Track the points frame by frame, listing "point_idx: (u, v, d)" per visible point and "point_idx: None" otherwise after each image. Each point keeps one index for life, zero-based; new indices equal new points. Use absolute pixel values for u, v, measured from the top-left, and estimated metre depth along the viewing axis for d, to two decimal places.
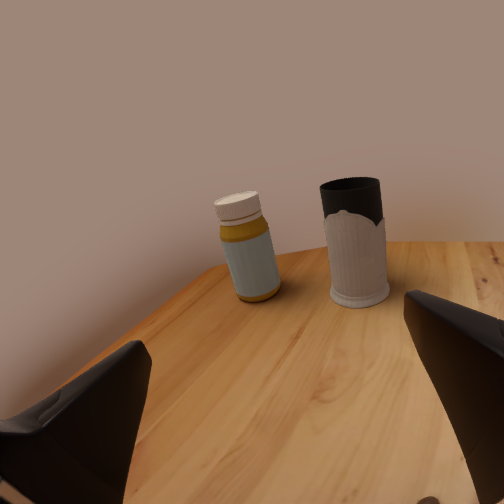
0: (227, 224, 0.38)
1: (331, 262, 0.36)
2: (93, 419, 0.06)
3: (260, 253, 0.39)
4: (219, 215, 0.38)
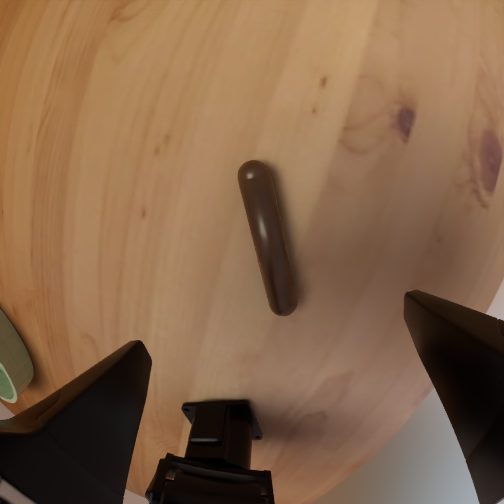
0: None
1: None
2: (93, 419, 0.06)
3: None
4: None
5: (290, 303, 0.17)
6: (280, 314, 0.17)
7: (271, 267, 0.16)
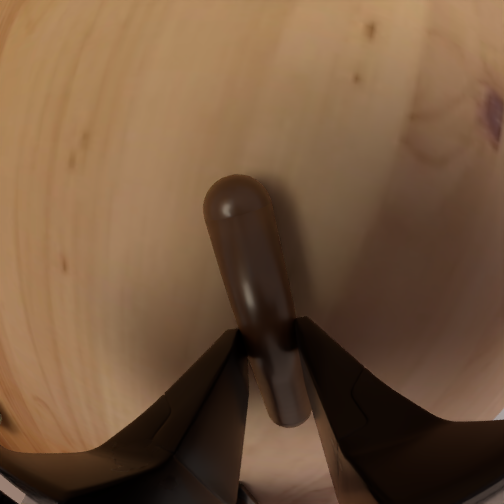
0: None
1: None
2: (215, 427, 0.05)
3: None
4: None
5: (301, 415, 0.09)
6: None
7: (271, 375, 0.08)
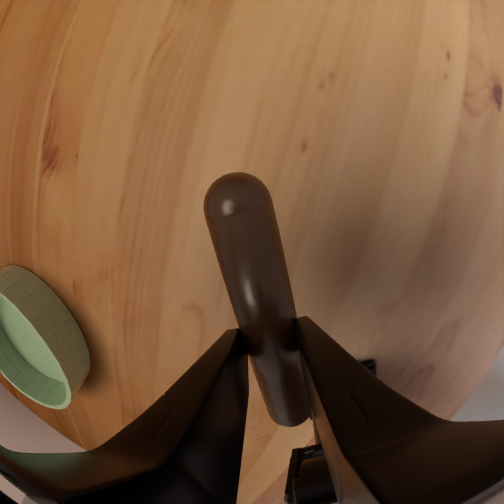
0: None
1: None
2: (215, 427, 0.05)
3: None
4: None
5: (302, 414, 0.09)
6: (285, 426, 0.10)
7: (272, 374, 0.08)
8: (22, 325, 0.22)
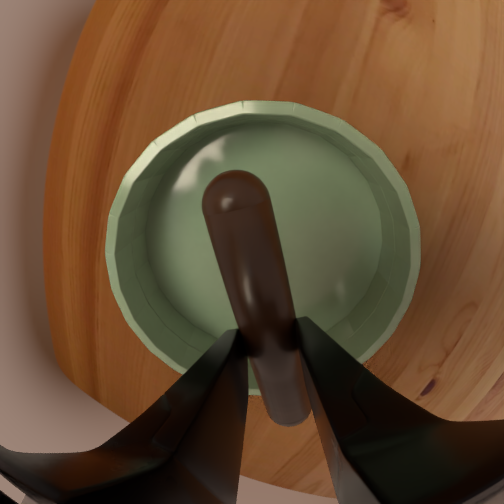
0: None
1: None
2: (215, 427, 0.05)
3: None
4: None
5: (301, 414, 0.09)
6: (284, 425, 0.10)
7: (271, 372, 0.08)
8: None
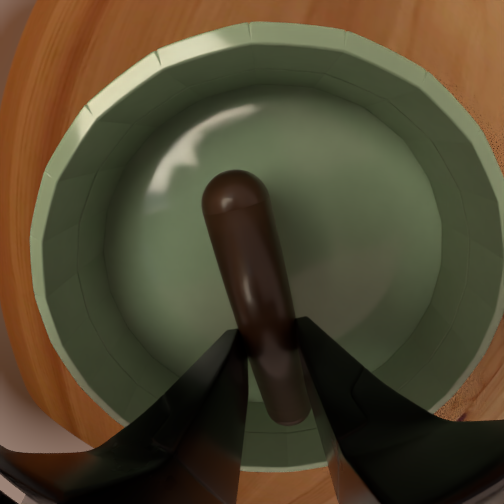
0: None
1: None
2: (215, 427, 0.05)
3: None
4: None
5: (301, 414, 0.09)
6: (284, 425, 0.10)
7: (270, 372, 0.08)
8: None
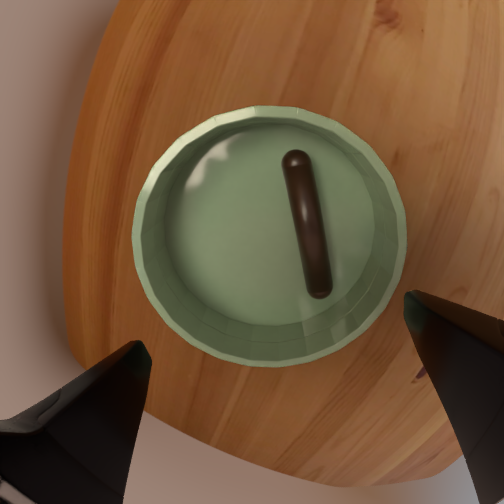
0: None
1: None
2: (93, 419, 0.06)
3: None
4: None
5: None
6: None
7: None
8: (246, 224, 0.18)
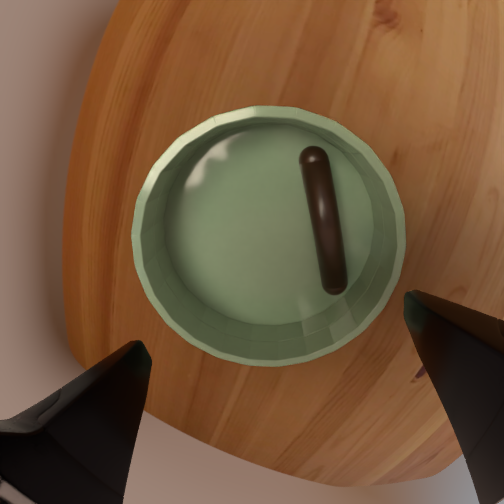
0: None
1: None
2: (93, 419, 0.06)
3: None
4: None
5: (321, 280, 0.19)
6: None
7: None
8: (245, 224, 0.18)
